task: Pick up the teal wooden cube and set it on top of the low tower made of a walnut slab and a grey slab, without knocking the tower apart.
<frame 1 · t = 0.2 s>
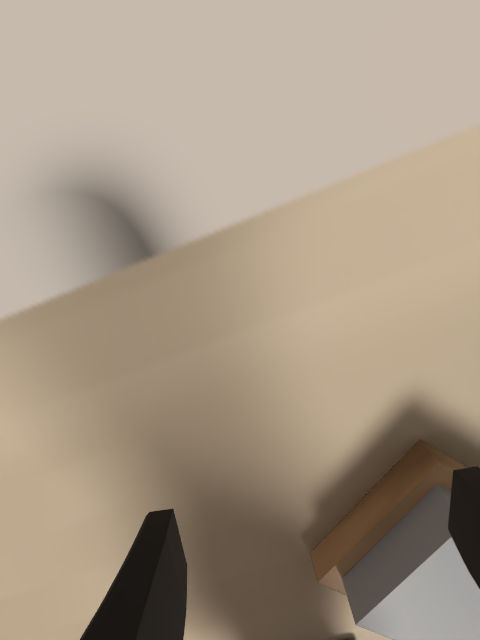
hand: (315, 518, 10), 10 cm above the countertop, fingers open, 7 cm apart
grey top slab: (439, 559, 23), point 2 cm above the countertop
walnut base slab: (419, 523, 26), on the countertop
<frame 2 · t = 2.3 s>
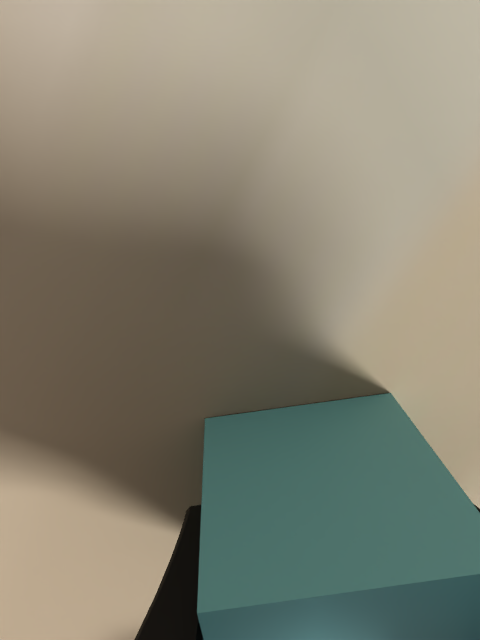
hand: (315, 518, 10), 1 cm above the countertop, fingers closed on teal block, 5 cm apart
teal block: (303, 478, 12), on the countertop, touching gripper
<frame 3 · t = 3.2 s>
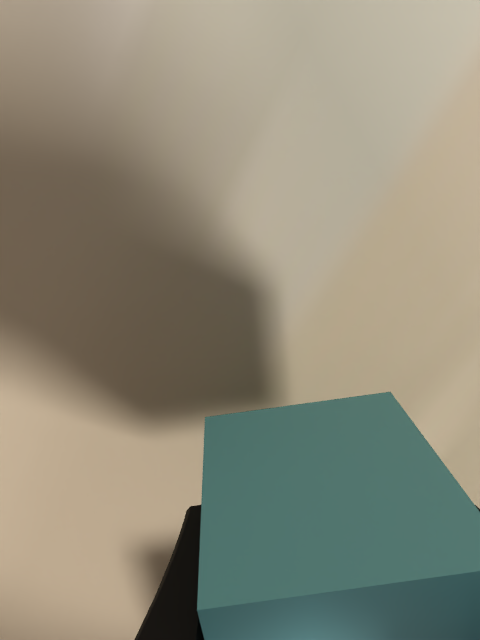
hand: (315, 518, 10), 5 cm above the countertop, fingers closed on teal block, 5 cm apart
teal block: (303, 476, 12), point 3 cm above the countertop, touching gripper
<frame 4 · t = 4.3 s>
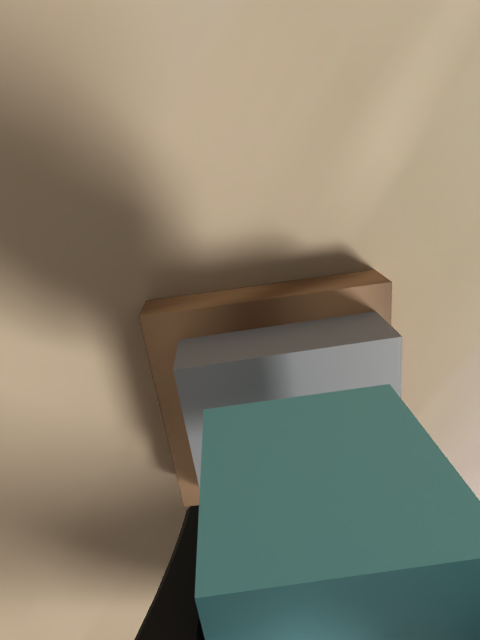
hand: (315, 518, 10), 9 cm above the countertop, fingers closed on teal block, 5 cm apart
grey top slab: (286, 408, 18), point 2 cm above the countertop, touching walnut base slab
walnut base slab: (269, 377, 20), on the countertop, touching grey top slab
teal block: (302, 470, 12), point 8 cm above the countertop, touching gripper
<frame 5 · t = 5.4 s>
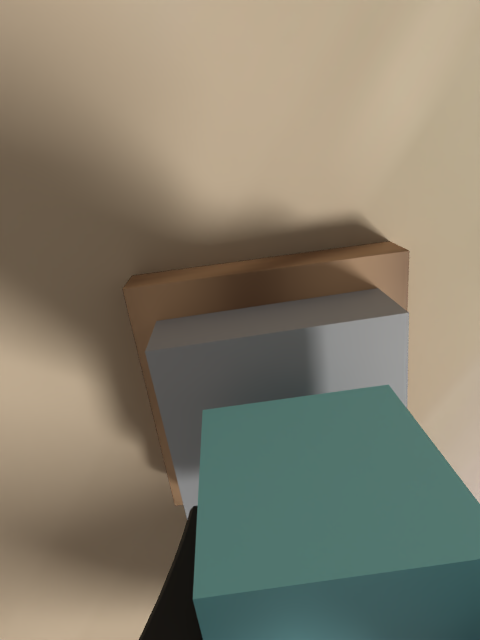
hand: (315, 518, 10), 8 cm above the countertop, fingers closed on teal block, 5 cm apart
grey top slab: (278, 399, 16), point 2 cm above the countertop
walnut base slab: (270, 363, 18), on the countertop
teal block: (301, 470, 12), point 6 cm above the countertop, touching gripper
when the fingers open (8 cm above the countertop, at t = 5.8 s): teal block drops 2 cm, point 4 cm above the countertop.
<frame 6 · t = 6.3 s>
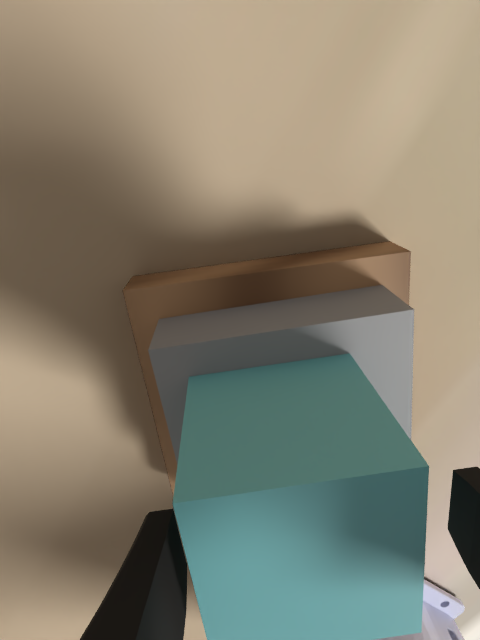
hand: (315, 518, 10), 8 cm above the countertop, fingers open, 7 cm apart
grey top slab: (282, 397, 16), point 2 cm above the countertop, touching walnut base slab
walnut base slab: (271, 364, 18), on the countertop, touching grey top slab
teal block: (277, 431, 13), point 4 cm above the countertop
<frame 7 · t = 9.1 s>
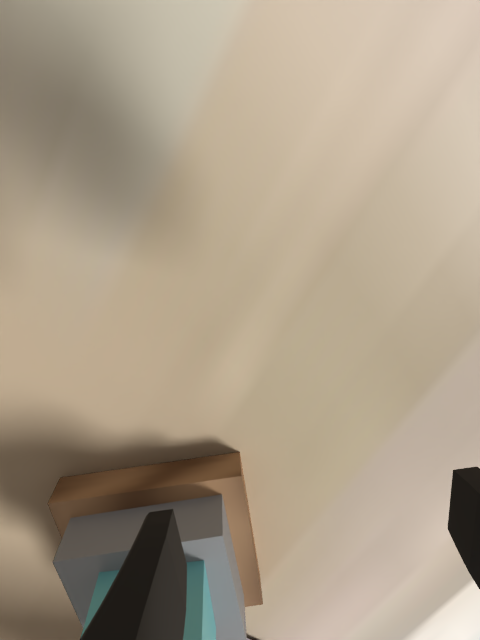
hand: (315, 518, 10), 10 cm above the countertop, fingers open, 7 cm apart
grey top slab: (162, 559, 23), point 2 cm above the countertop, touching teal block, walnut base slab
walnut base slab: (169, 520, 25), on the countertop, touching grey top slab
teal block: (160, 601, 20), point 4 cm above the countertop, touching grey top slab
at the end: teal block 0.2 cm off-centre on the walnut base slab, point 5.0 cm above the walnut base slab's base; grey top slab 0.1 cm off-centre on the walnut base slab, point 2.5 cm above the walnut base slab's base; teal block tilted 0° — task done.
